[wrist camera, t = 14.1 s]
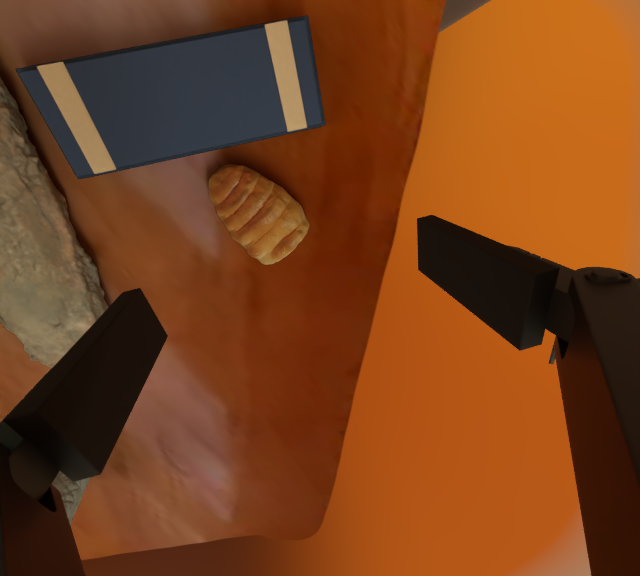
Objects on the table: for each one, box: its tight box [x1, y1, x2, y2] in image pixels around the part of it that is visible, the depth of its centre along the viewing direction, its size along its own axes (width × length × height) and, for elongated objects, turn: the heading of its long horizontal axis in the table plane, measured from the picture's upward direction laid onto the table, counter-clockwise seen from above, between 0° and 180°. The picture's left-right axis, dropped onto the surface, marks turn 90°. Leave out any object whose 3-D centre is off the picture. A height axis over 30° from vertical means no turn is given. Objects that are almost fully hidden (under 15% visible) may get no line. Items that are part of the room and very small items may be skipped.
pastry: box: [208, 164, 309, 265], centre depth 26 cm, size 9×7×4 cm
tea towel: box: [16, 15, 325, 179], centre depth 22 cm, size 20×7×3 cm, turn 101°
